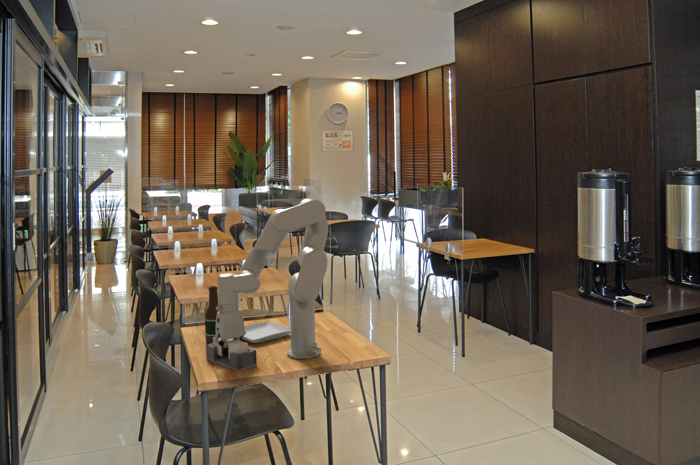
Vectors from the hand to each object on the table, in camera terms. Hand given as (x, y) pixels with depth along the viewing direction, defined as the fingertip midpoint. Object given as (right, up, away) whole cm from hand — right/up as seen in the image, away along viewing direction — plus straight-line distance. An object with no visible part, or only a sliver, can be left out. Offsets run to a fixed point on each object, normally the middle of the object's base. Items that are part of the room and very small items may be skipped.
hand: (230, 355), depth 205 cm
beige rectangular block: (0, 0, 0) cm, 0 cm away
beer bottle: (-11, -1, +23) cm, 26 cm away
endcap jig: (0, -3, 0) cm, 3 cm away
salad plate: (+6, 0, +33) cm, 34 cm away
